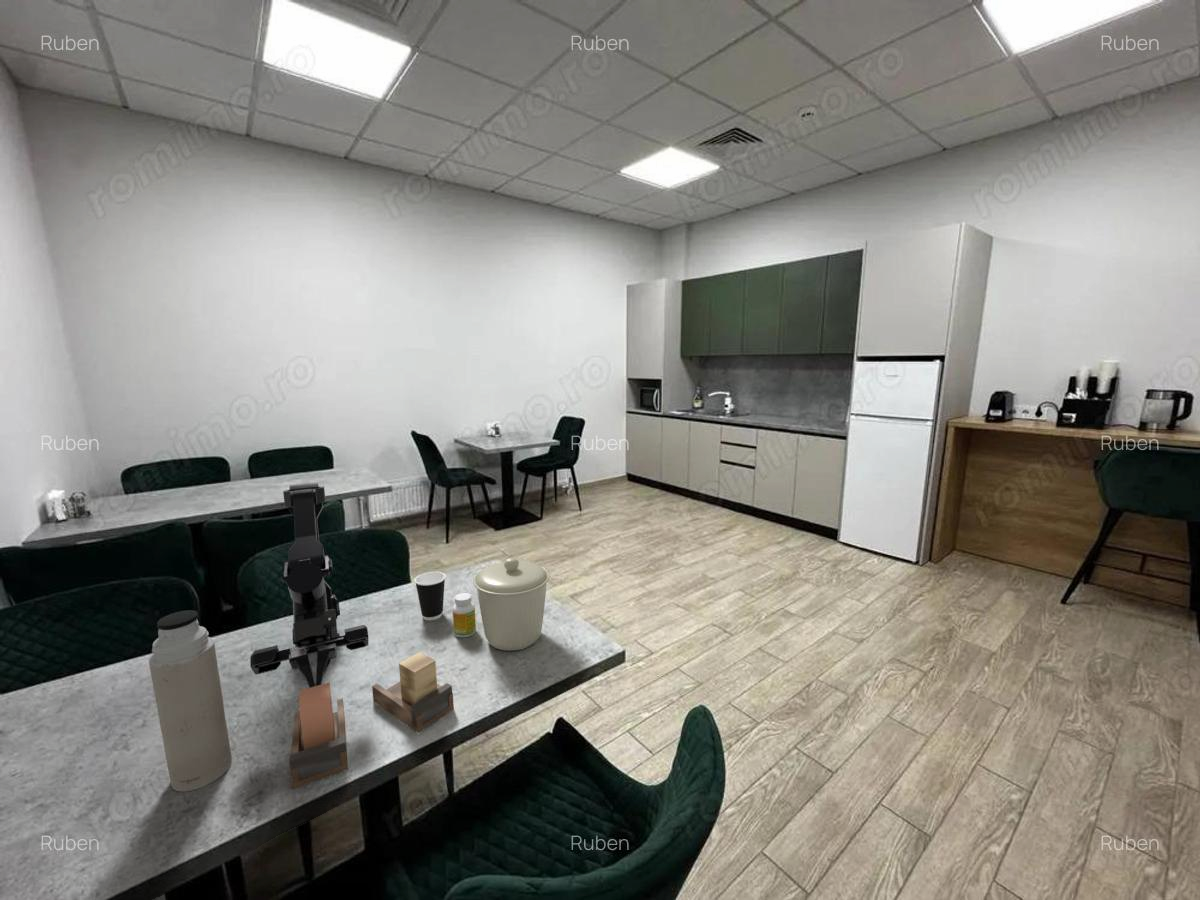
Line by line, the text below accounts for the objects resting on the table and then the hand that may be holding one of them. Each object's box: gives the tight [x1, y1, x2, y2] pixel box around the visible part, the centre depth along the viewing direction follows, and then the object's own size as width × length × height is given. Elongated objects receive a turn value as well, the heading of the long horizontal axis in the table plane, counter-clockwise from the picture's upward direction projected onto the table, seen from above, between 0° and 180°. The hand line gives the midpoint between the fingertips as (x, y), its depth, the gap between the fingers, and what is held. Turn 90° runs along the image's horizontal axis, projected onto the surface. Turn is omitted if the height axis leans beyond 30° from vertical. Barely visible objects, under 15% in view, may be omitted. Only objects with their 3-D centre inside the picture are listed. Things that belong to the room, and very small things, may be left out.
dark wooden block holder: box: [288, 697, 349, 790], centre depth 86 cm, size 15×8×5 cm, turn 30°
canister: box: [472, 557, 550, 652], centre depth 119 cm, size 18×18×21 cm
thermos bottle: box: [148, 609, 233, 793], centre depth 79 cm, size 8×8×28 cm
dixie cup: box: [413, 571, 447, 621], centre depth 131 cm, size 8×8×11 cm
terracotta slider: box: [298, 681, 335, 750], centre depth 86 cm, size 5×5×9 cm
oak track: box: [371, 681, 455, 734], centre depth 97 cm, size 15×8×5 cm, turn 55°
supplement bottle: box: [452, 592, 477, 638], centre depth 123 cm, size 5×5×10 cm
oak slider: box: [398, 651, 438, 706], centre depth 95 cm, size 5×5×9 cm
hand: (316, 696), depth 88 cm, fingers closed, pressing on terracotta slider
